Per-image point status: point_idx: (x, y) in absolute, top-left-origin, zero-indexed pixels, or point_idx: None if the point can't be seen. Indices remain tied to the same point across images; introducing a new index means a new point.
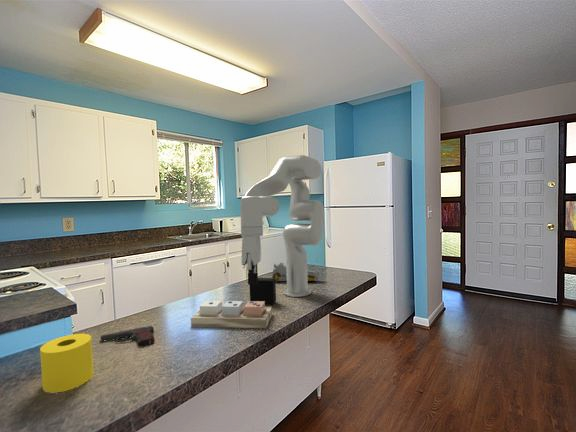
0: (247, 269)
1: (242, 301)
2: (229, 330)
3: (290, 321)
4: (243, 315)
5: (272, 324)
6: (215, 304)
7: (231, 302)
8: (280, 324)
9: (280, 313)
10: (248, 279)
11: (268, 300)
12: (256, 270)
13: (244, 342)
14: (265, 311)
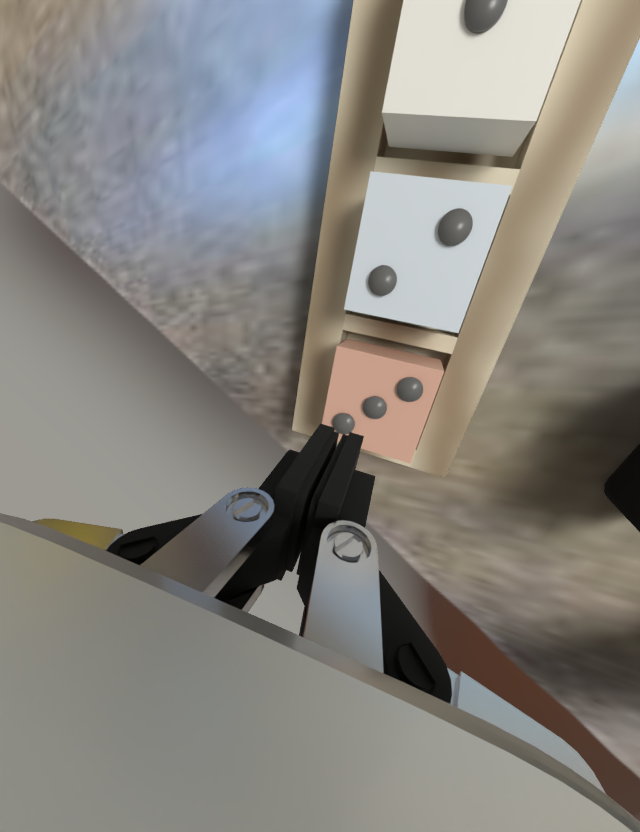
0: (39, 523)
1: (450, 328)
2: (297, 267)
3: None
4: (357, 332)
5: None
6: (439, 82)
7: (441, 241)
8: None
9: (448, 490)
10: (305, 449)
11: (637, 480)
12: (305, 608)
13: (204, 340)
14: None
